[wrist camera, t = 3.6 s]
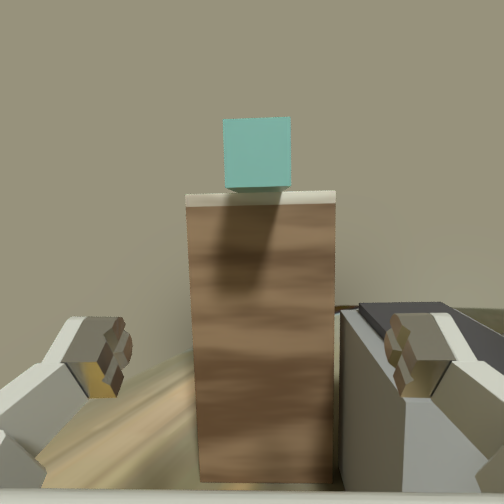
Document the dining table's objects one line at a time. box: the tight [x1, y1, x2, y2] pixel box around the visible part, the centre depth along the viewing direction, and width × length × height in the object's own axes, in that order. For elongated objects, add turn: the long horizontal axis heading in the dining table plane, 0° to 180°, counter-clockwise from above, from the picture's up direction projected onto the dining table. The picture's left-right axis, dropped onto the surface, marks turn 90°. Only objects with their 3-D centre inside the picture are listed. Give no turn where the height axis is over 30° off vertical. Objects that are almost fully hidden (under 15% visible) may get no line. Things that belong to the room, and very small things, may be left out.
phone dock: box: [338, 302, 504, 493], centre depth 24 cm, size 14×10×16 cm
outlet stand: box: [185, 190, 336, 483], centre depth 38 cm, size 19×12×26 cm, turn 178°
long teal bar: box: [223, 117, 291, 193], centre depth 29 cm, size 24×4×4 cm, turn 178°
